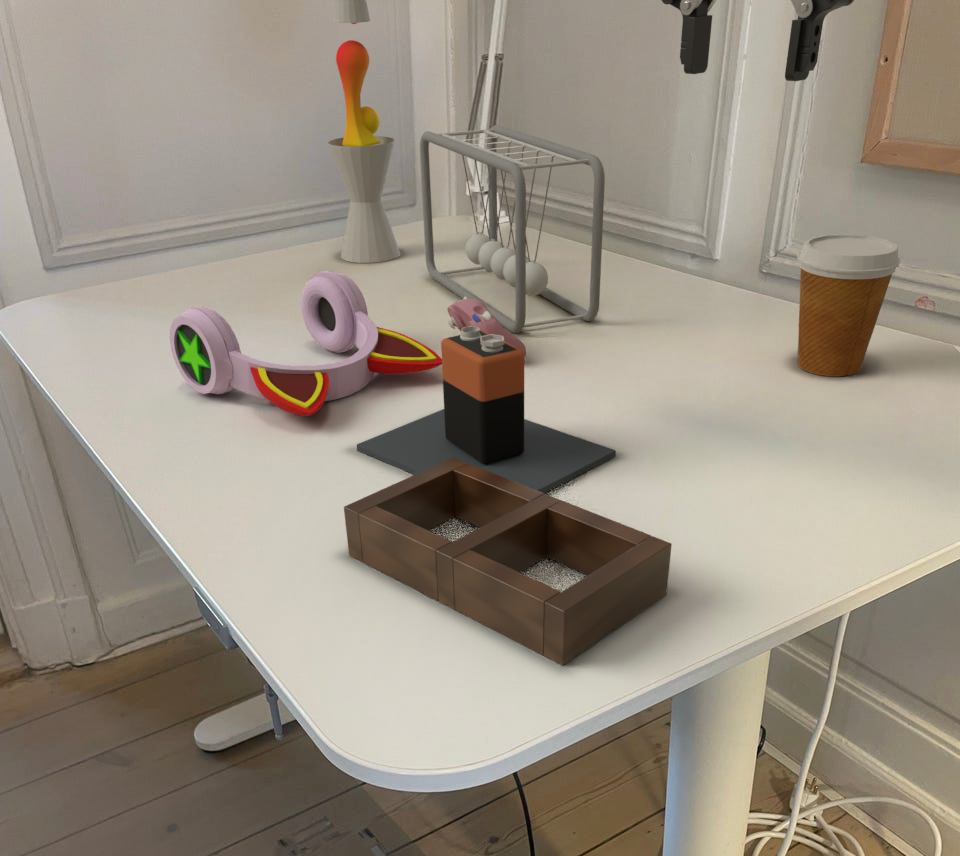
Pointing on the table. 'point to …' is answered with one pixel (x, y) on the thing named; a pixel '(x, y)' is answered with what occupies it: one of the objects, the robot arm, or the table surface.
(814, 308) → the disposable coffee cup
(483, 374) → the battery
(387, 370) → the headphones
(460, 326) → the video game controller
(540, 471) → the mat
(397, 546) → the tray
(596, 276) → the newton's cradle
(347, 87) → the lava lamp
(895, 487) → the table surface
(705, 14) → the robot arm
